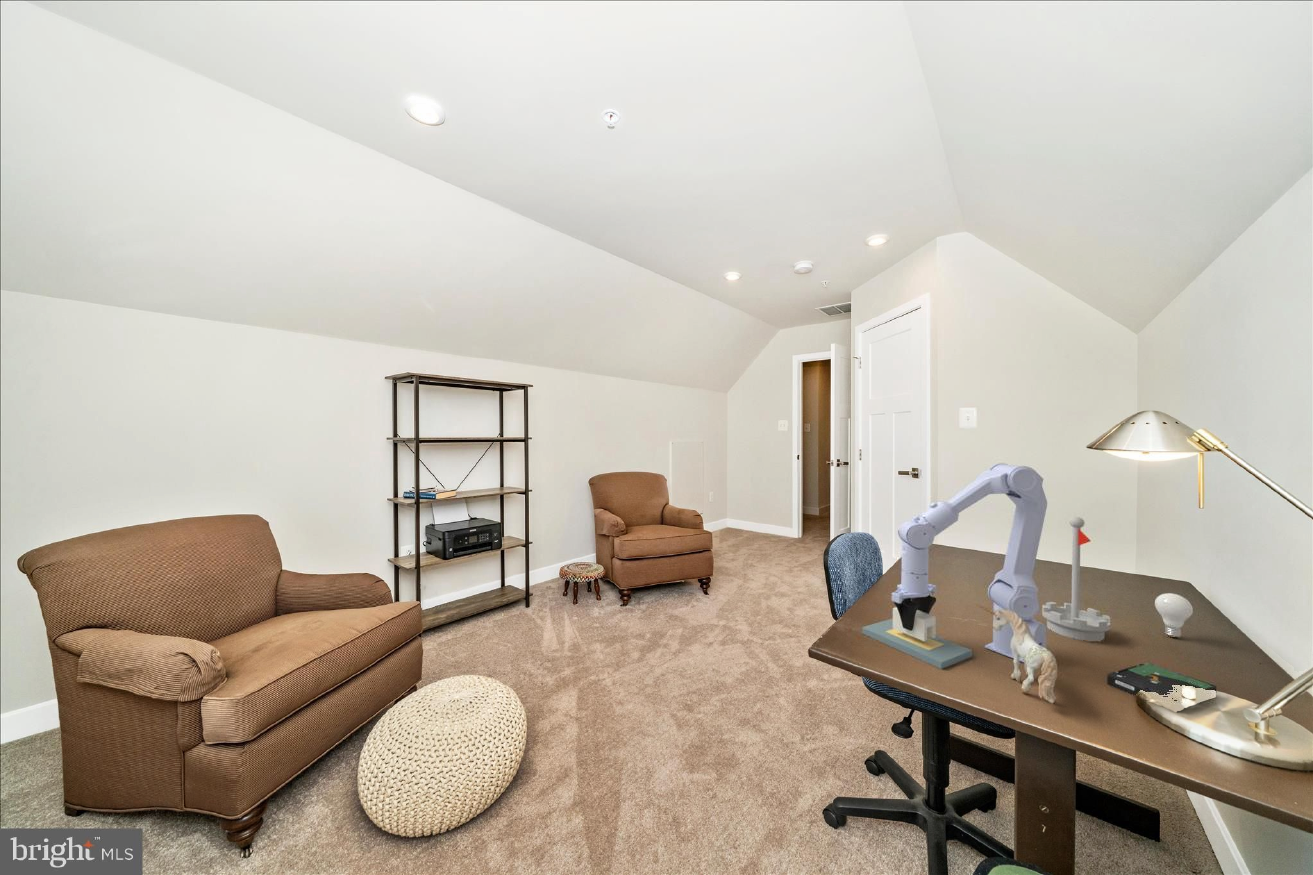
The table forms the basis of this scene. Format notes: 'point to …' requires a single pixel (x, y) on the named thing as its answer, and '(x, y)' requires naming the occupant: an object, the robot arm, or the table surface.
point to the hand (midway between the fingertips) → (914, 626)
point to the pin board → (918, 645)
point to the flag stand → (1076, 601)
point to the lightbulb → (1173, 612)
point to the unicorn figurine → (1027, 654)
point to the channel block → (917, 625)
